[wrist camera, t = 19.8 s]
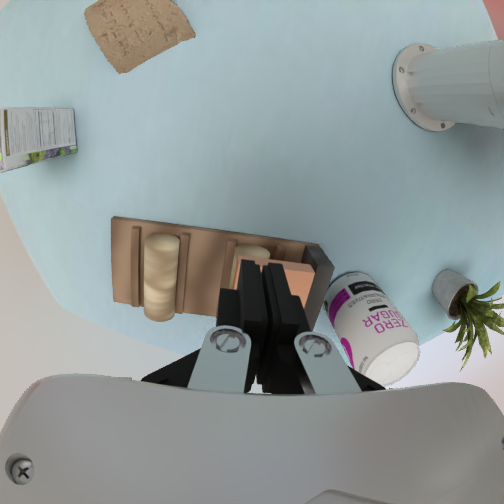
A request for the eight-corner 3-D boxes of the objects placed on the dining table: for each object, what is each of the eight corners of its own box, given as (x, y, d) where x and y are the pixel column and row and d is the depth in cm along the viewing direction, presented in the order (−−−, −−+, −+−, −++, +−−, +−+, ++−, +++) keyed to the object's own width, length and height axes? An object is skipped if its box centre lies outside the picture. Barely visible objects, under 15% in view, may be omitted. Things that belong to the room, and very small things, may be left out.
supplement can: (335, 326, 43) (370, 400, 29) (313, 290, 40) (349, 367, 26) (379, 298, 42) (428, 364, 28) (362, 259, 39) (418, 324, 25)
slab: (310, 264, 32) (315, 273, 30) (286, 340, 36) (289, 351, 34) (237, 255, 31) (238, 263, 29) (223, 335, 35) (223, 346, 33)
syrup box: (44, 160, 29) (-32, 187, 16) (40, 117, 27) (-38, 126, 13) (78, 152, 29) (3, 174, 16) (74, 106, 27) (-2, 105, 14)
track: (318, 244, 37) (334, 267, 31) (295, 320, 42) (305, 349, 36) (113, 216, 33) (93, 235, 27) (115, 297, 38) (101, 325, 32)
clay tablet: (200, 39, 26) (197, 32, 24) (124, 84, 27) (116, 81, 25) (151, -33, 20) (146, -42, 18) (83, 9, 22) (74, 3, 19)
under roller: (177, 233, 34) (181, 247, 31) (172, 302, 38) (176, 321, 35) (144, 232, 33) (145, 246, 29) (143, 303, 37) (145, 322, 33)
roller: (272, 249, 35) (267, 262, 31) (256, 317, 39) (250, 334, 35) (240, 241, 35) (231, 253, 32) (228, 309, 39) (219, 325, 36)
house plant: (393, 284, 41) (451, 353, 26) (452, 225, 38) (524, 272, 23) (423, 327, 46) (469, 388, 31) (473, 277, 43) (528, 325, 28)
